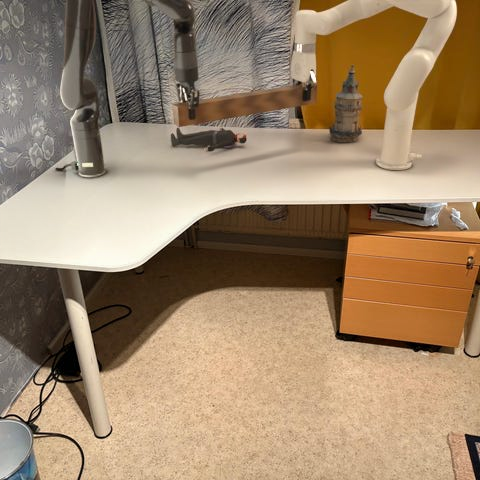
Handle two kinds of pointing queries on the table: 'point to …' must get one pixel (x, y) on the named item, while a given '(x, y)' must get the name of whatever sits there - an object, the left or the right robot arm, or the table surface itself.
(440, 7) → the right robot arm
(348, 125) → the miniature building
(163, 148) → the table surface
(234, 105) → the post
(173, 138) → the toy
